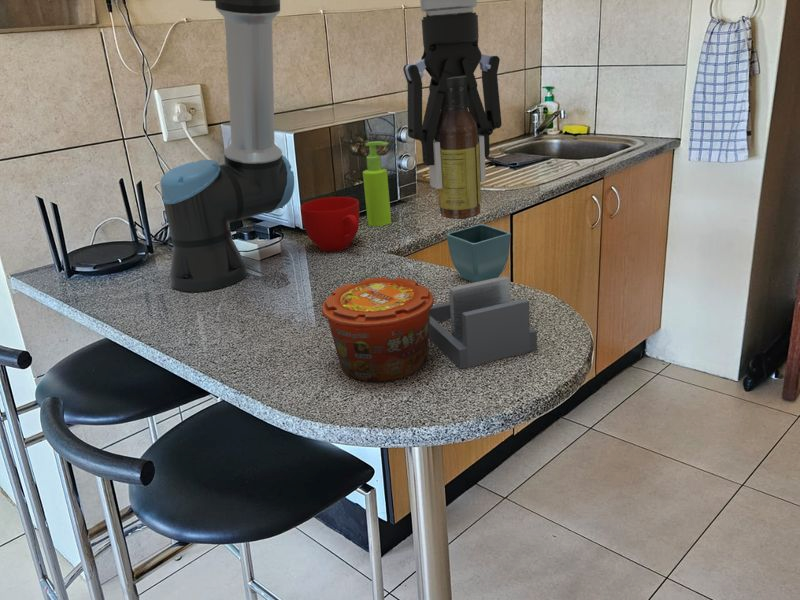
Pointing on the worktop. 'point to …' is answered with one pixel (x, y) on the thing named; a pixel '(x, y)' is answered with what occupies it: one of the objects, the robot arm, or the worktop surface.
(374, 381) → the food container
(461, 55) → the robot arm
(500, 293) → the bar
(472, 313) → the frame
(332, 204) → the ceramic cup
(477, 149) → the sauce bottle
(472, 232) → the flower pot
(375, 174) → the soap dispenser
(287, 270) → the worktop surface
